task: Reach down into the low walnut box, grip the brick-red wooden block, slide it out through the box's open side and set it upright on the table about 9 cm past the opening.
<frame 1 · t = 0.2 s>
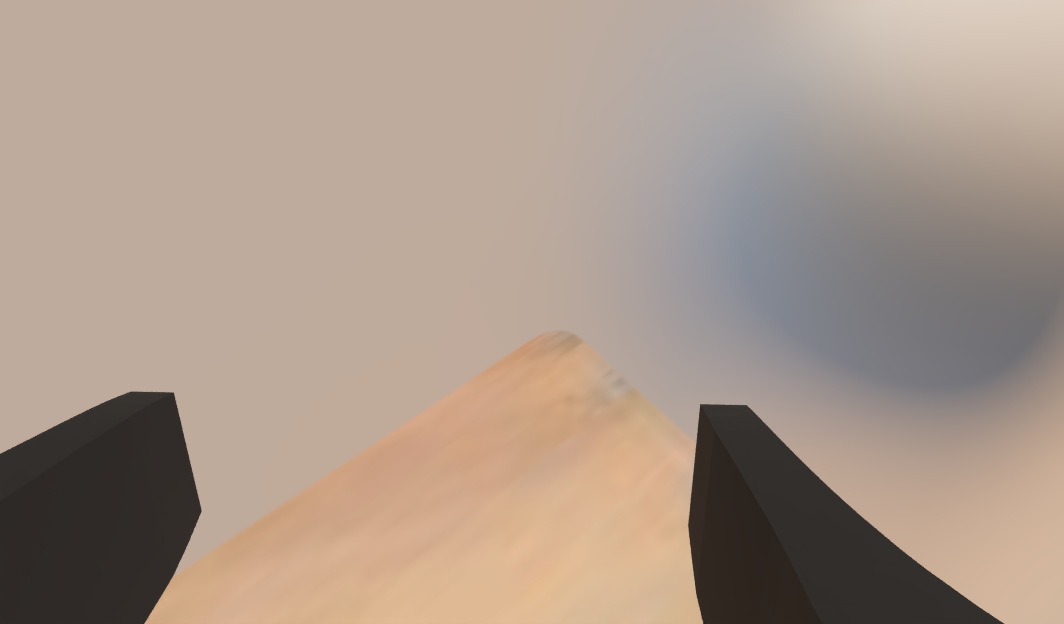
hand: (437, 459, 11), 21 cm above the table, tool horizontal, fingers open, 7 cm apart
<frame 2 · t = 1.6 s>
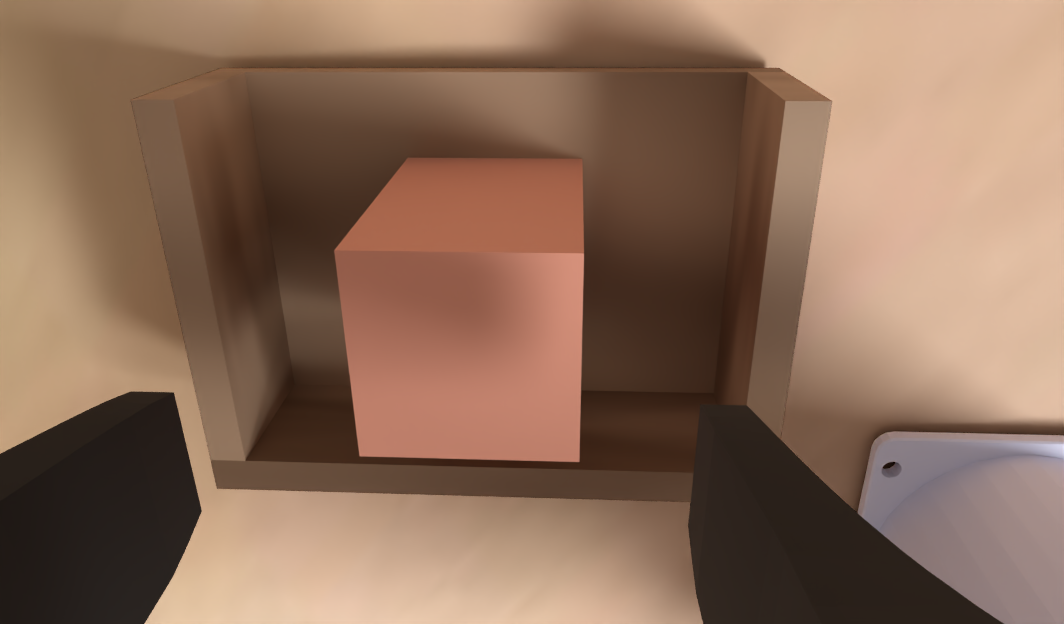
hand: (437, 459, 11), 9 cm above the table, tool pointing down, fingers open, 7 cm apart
box: (499, 251, 19), on the table
block: (497, 240, 19), point 1 cm above the table, touching box
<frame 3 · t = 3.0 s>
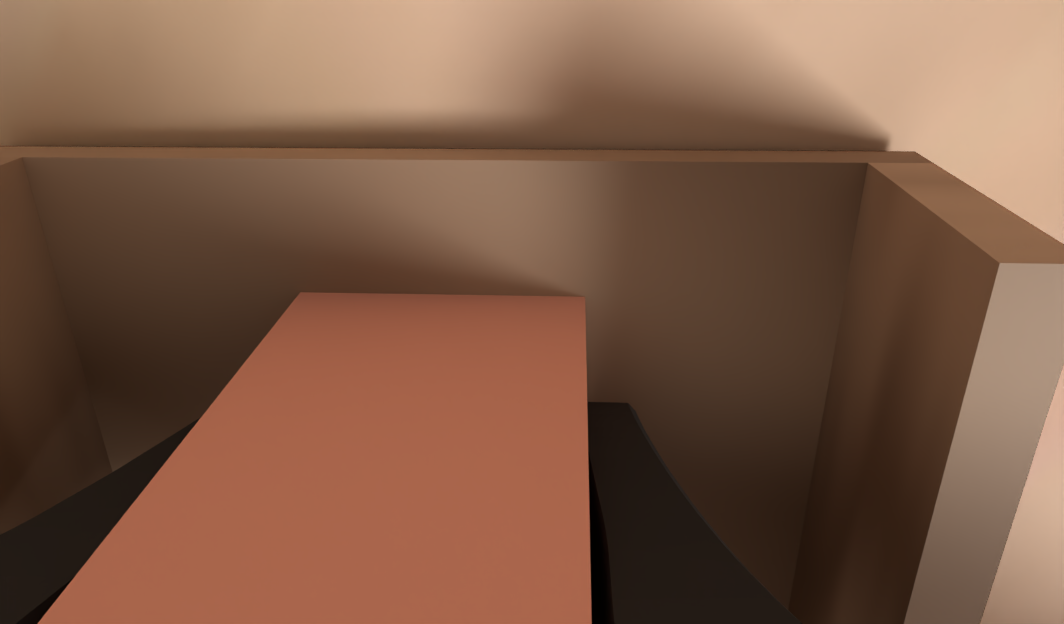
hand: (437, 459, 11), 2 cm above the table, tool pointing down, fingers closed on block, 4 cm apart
box: (456, 422, 13), on the table
block: (448, 416, 12), point 1 cm above the table, touching box, gripper
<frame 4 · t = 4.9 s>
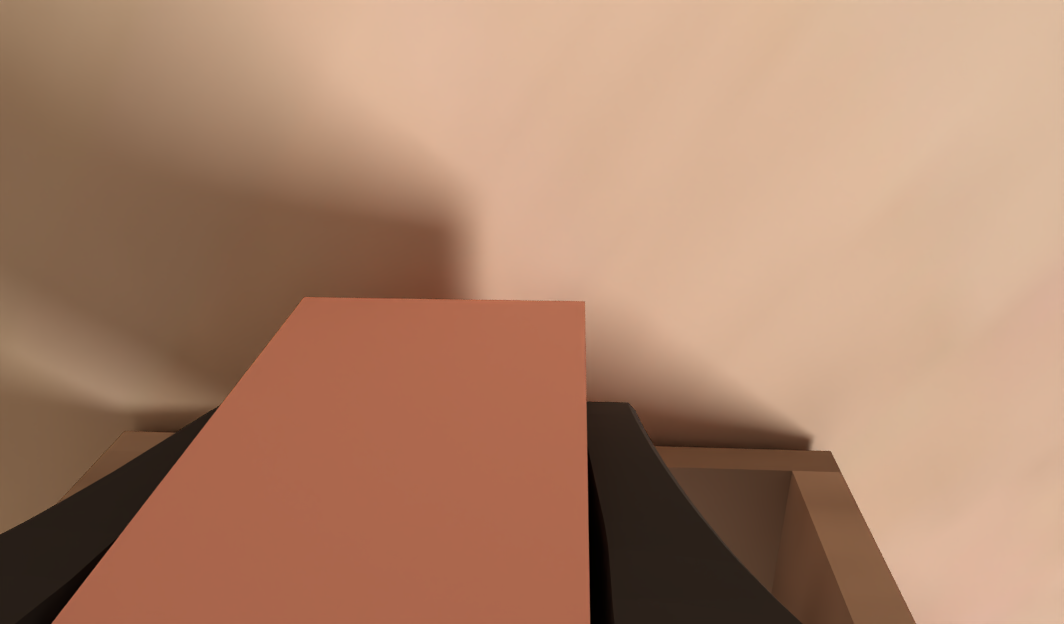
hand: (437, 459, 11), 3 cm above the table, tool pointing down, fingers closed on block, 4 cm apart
box: (477, 623, 16), on the table
block: (450, 418, 12), point 2 cm above the table, touching gripper
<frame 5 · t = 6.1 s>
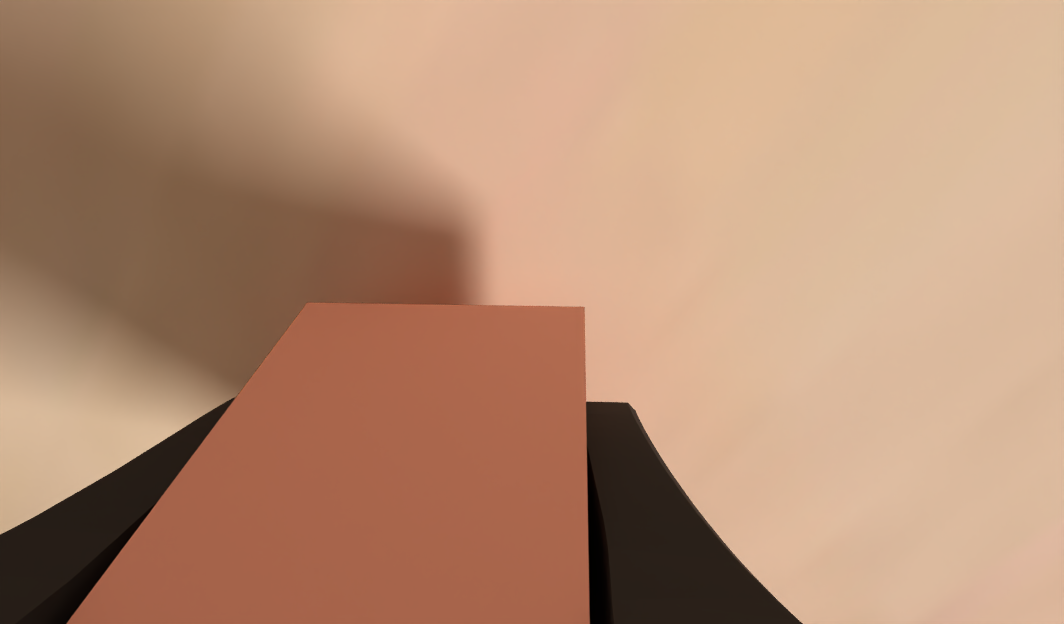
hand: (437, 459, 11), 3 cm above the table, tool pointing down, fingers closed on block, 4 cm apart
block: (451, 422, 12), point 1 cm above the table, touching gripper
when the fingers open (2 cm above the table, at t = 7.0 s): block stays where it is, on the table.
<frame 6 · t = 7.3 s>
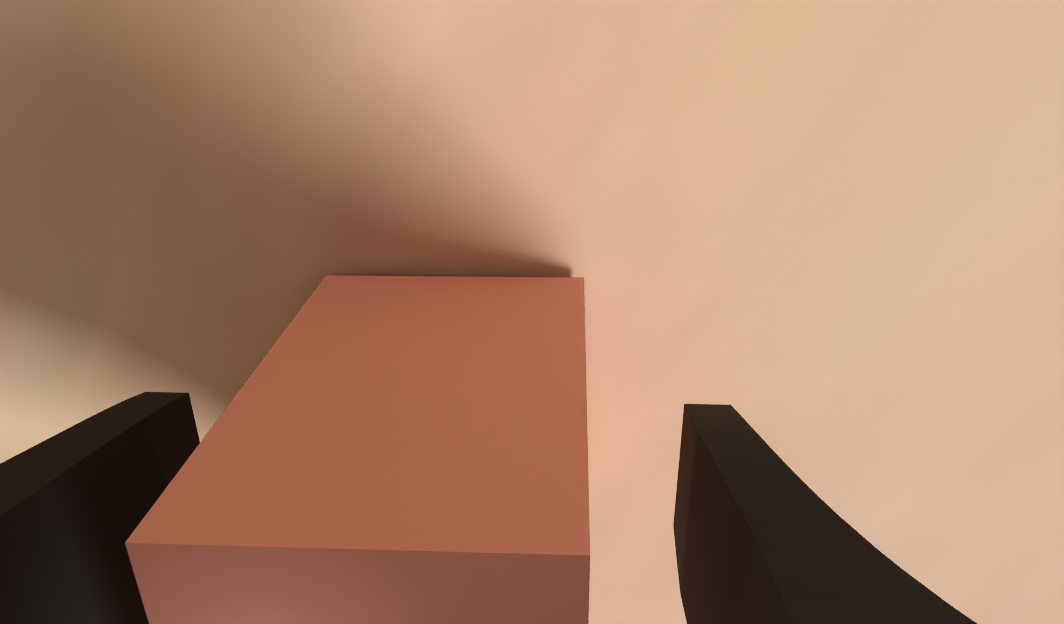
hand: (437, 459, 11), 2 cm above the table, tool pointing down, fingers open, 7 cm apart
block: (460, 388, 13), on the table
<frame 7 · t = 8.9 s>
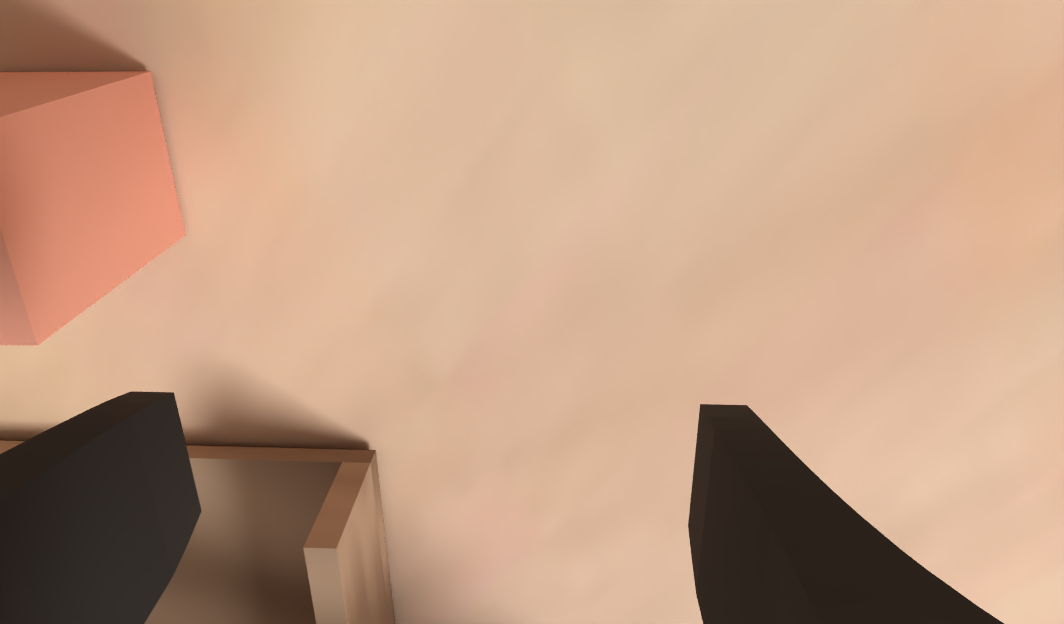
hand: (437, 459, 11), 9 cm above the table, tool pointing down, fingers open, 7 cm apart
box: (189, 561, 24), on the table
block: (88, 156, 19), on the table
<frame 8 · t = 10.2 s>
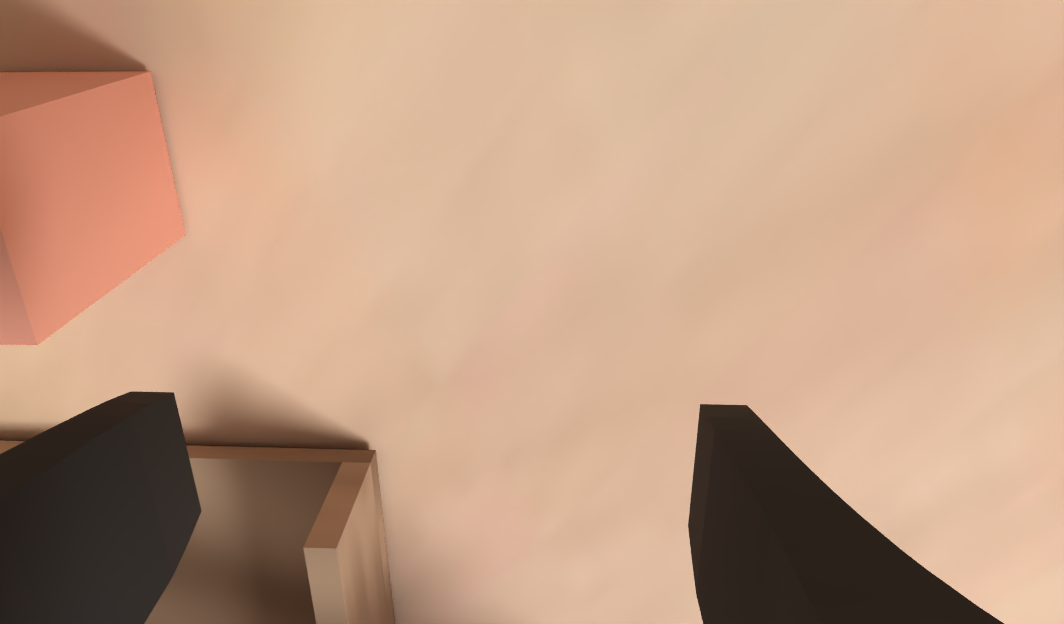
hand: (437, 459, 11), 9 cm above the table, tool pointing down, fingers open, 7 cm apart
box: (189, 561, 24), on the table
block: (88, 156, 19), on the table
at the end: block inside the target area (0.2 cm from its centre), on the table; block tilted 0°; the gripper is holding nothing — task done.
